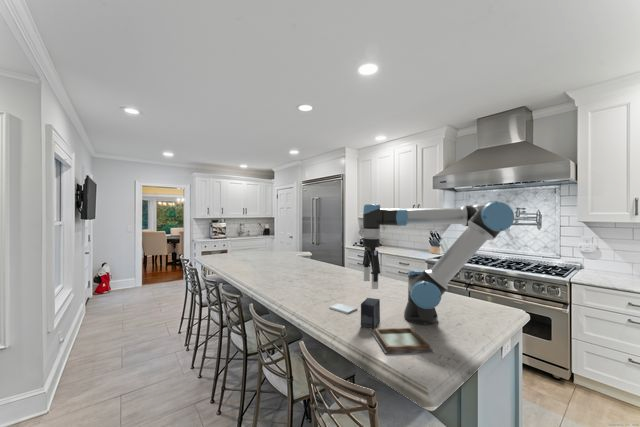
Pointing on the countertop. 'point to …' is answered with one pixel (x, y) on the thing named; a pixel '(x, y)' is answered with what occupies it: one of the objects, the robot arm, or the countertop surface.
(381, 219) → the robot arm
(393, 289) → the countertop surface
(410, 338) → the wooden picture frame
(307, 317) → the countertop surface
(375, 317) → the small box
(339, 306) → the hard drive
